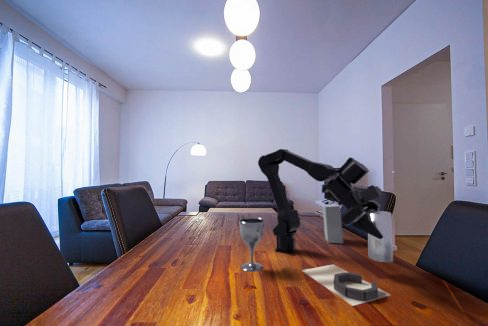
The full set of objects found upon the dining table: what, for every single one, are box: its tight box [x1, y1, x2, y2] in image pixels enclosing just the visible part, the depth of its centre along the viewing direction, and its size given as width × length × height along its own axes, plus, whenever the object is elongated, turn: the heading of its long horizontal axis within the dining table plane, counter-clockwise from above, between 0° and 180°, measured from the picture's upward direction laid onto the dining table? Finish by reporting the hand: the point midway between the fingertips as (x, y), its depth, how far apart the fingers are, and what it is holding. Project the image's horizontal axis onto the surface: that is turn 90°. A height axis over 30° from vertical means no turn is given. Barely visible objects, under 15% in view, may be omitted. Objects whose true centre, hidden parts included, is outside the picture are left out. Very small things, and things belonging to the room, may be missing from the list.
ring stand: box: [301, 263, 391, 307], centre depth 60 cm, size 19×12×3 cm, turn 20°
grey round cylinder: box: [367, 210, 394, 263], centre depth 64 cm, size 6×6×13 cm
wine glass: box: [239, 217, 265, 273], centre depth 72 cm, size 8×8×15 cm
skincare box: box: [322, 203, 344, 244], centre depth 99 cm, size 8×7×16 cm
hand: (385, 235), depth 63 cm, fingers closed on grey round cylinder, 6 cm apart
